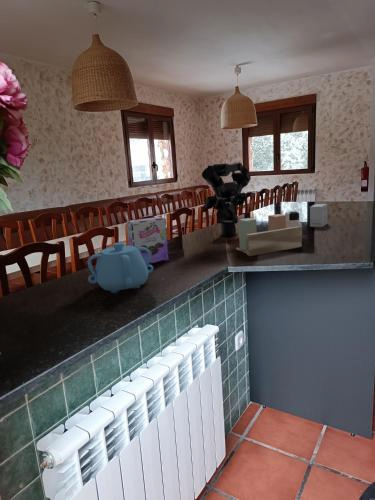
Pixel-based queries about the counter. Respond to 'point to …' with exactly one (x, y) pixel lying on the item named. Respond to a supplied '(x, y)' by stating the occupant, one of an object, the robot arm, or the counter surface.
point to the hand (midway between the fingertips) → (233, 215)
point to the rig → (273, 241)
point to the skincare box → (318, 215)
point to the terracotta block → (276, 222)
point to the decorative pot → (120, 267)
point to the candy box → (149, 237)
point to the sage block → (246, 230)
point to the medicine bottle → (292, 219)
